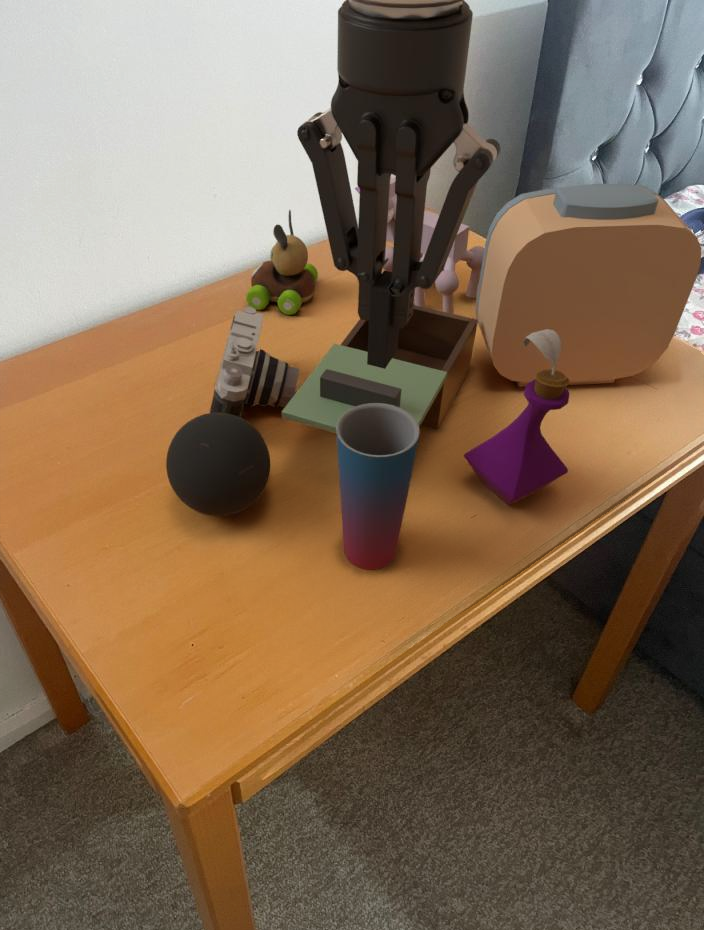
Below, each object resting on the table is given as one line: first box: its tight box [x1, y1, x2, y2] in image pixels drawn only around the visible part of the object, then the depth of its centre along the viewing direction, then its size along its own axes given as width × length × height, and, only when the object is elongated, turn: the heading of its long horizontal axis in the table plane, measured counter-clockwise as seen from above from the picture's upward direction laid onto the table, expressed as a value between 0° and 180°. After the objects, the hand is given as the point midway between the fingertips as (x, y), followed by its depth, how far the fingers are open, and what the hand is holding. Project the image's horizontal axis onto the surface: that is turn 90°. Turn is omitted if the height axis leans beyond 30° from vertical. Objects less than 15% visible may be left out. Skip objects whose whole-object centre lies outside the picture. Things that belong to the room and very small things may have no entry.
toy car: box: [245, 209, 319, 316], centre depth 100 cm, size 9×9×11 cm
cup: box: [335, 403, 421, 570], centre depth 67 cm, size 7×7×15 cm
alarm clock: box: [475, 183, 702, 388], centre depth 85 cm, size 21×10×22 cm, turn 94°
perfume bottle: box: [463, 329, 570, 506], centre depth 71 cm, size 8×8×18 cm
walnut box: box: [340, 304, 478, 429], centre depth 88 cm, size 13×13×7 cm
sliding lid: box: [281, 343, 447, 434], centre depth 76 cm, size 13×13×3 cm
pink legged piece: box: [354, 176, 485, 314], centre depth 100 cm, size 20×11×14 cm, turn 48°
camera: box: [209, 305, 300, 418], centre depth 84 cm, size 16×9×10 cm, turn 176°
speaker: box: [165, 412, 271, 517], centre depth 73 cm, size 10×10×10 cm
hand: (382, 357), depth 59 cm, fingers closed
